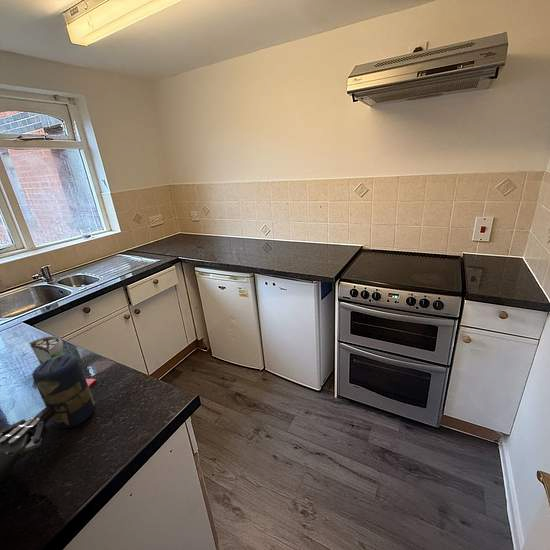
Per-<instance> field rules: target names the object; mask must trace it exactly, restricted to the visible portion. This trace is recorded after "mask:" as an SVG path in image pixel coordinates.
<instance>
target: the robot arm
mask: <svg viewBox="0 0 550 550" xmlns="http://www.w3.org/2000/svg"><path fill="white" fill-rule="evenodd" d="M55 413H56V411H55V409H54V407H51V406H47V407H46V406H45V407H44V408H43V409H41V410H40V412H38V413H36V415H35V416H34V417H30V418H29V419H28V420H26V419H25V418H24V419H21V420H19V421H17V422H15V423H12V424H10V425H8V426H6V427H4V428H2V429H0V483H2V482H3V480H4V479H6V477H7V476H9V475H10V473H12V472H13V470H14V468H15V464H16V463H17V462H18V460H20V459H21V458H23V457H24V456H26V455H27V454H28V452H29V451H31V450H33V449H36V450H37V451H39V450H42V449H43V448H44V447H45V443H46V439H47V435H48V431H49V429H48V427H47V425H46V424H47V423H48V422H49V421H50V420H52V417H53V416H54V415H55Z"/></svg>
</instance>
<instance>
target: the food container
mask: <svg viewBox="0 0 550 550" xmlns="http://www.w3.org/2000/svg"><path fill="white" fill-rule="evenodd" d="M29 346H30V348H31V349H32V350H33V351H32V352H34V355H35V356H36V358H37V360H38V362H39V365H40V364H41V363H43V362H45V361H46V360H48V359H51V358H53V357H56V356H60V355H65V353H64V349H63V347H64V342H63V341H62V340H61V339H60V338H59V337H58V336H45V337H42V338H38V339H35V340H33V341H30V342H29Z"/></svg>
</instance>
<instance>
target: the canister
mask: <svg viewBox="0 0 550 550" xmlns="http://www.w3.org/2000/svg"><path fill="white" fill-rule="evenodd" d="M32 379H33V382H35V384H36V385H35V386H36V388H37V390H38V393H39V395H40V397H41V400H42V401H43V403H44V405H45V408H46V407H47V406H51V407H54V409H55V411H56V413H55V415H54V416H53V417H52V418H51V420H52V423H53V424H54V425H55V427H57V428H60V429H68V428H73V427H75V426H78V425H80V424H81V423H83V422H85V421H86V420H87V419H88V418H89V417H90V416H92V414H93V413H94V411H95V409H96V402H95V400H94V396H93V393H92V392H91V391H92V390H91V388H89V386H88V384H87V381H86V379H87V378H86V376H85V374H84V371H83V368H82V366H81V364H80V360H79V359H78V358H77V356H76V355H74V354H68V353H67V354H65V353H64V355H60V356H56V357H53V358H51V359H48V360H46V361H45V362H43V363H41V364H40V363H39V365H38V366H37V367H35V369H34V370H33V372H32Z"/></svg>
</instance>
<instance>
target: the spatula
mask: <svg viewBox="0 0 550 550" xmlns="http://www.w3.org/2000/svg"><path fill="white" fill-rule="evenodd" d="M85 379H86V381H87V384H88V386H89V389H91V387H92V386H93V385H94V384H95V383H96V382H97V378H85ZM32 384H33V386H36V384H35V382H34V381H32Z"/></svg>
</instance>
